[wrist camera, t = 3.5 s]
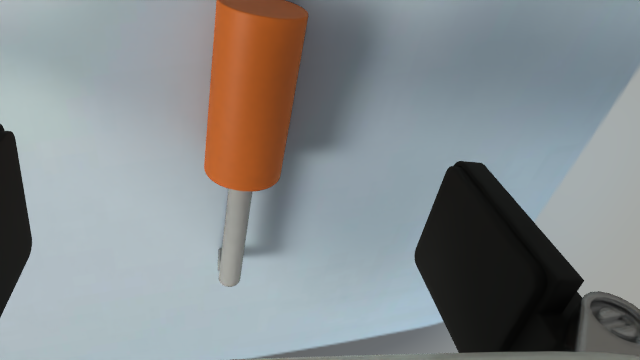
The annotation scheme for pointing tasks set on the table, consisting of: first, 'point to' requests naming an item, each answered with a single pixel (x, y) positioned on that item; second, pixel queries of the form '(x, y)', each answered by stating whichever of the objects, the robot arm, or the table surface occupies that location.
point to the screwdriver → (250, 108)
